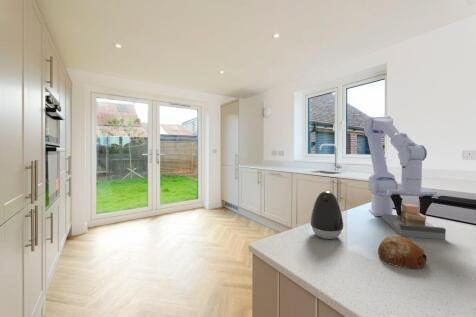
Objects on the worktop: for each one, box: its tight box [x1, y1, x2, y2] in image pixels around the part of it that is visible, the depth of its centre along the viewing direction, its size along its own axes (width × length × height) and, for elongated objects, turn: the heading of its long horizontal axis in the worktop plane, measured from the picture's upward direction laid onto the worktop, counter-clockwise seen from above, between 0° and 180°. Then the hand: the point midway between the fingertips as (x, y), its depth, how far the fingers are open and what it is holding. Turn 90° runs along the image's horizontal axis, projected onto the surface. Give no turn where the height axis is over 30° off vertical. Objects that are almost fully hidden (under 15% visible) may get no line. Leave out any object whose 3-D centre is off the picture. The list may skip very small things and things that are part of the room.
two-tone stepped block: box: [396, 207, 427, 226], centre depth 80 cm, size 10×5×4 cm, turn 163°
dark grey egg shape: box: [310, 190, 344, 240], centre depth 73 cm, size 10×10×15 cm
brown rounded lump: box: [377, 234, 428, 270], centre depth 58 cm, size 10×10×8 cm
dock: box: [382, 214, 447, 241], centre depth 80 cm, size 18×12×4 cm, turn 163°
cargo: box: [401, 202, 420, 214], centre depth 80 cm, size 4×4×2 cm
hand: (410, 215), depth 80 cm, fingers open, 7 cm apart
